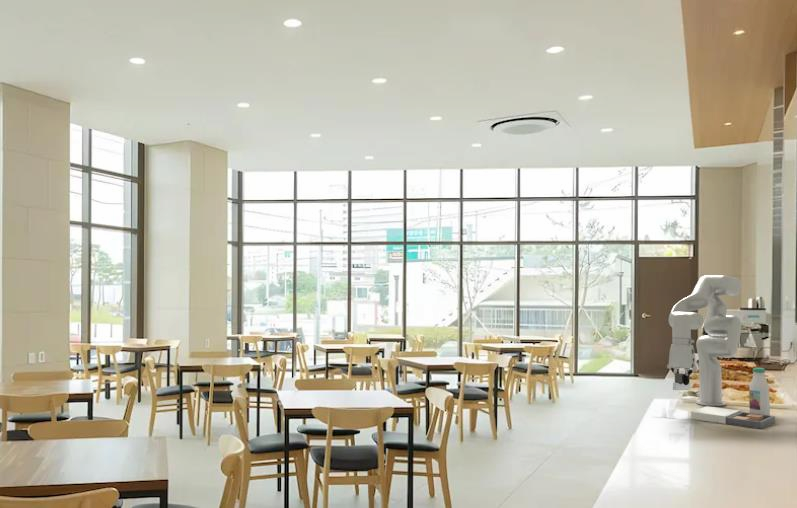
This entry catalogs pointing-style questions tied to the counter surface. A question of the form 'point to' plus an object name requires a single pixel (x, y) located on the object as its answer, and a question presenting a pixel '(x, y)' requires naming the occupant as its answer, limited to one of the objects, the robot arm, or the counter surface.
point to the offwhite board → (713, 414)
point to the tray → (749, 423)
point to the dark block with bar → (680, 382)
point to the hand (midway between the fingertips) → (682, 383)
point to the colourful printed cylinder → (759, 393)
